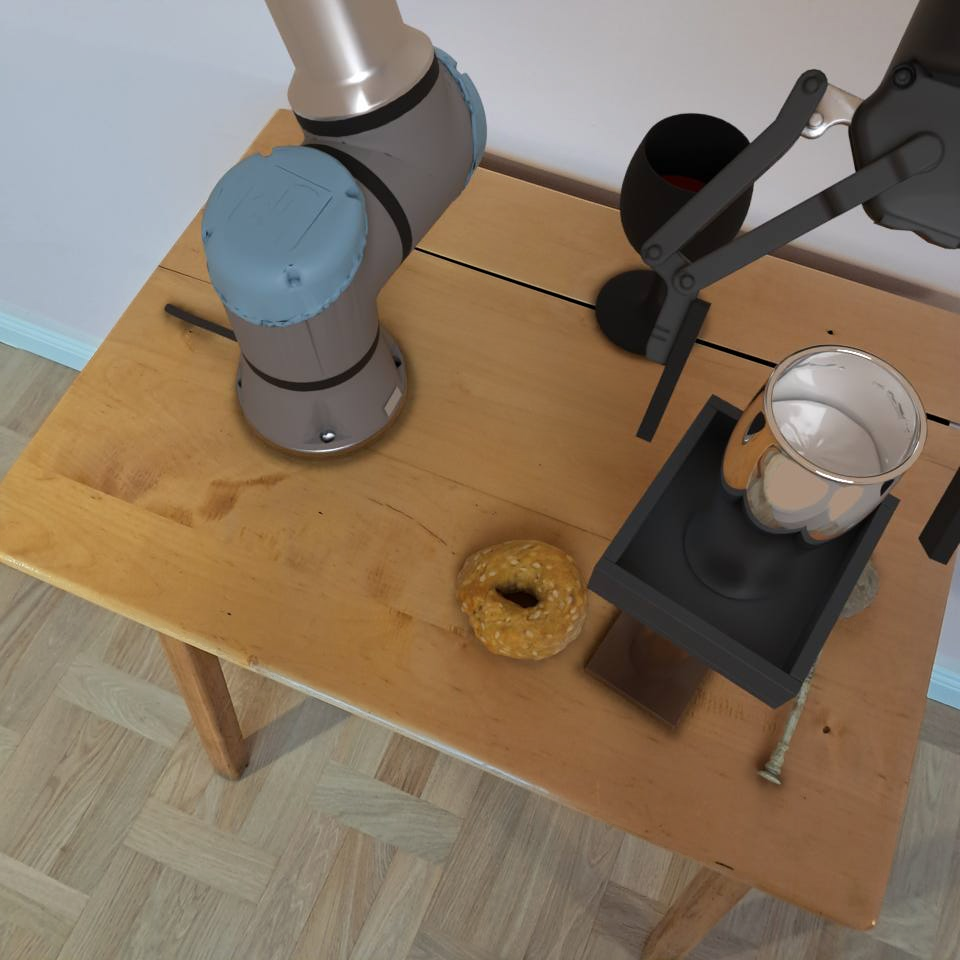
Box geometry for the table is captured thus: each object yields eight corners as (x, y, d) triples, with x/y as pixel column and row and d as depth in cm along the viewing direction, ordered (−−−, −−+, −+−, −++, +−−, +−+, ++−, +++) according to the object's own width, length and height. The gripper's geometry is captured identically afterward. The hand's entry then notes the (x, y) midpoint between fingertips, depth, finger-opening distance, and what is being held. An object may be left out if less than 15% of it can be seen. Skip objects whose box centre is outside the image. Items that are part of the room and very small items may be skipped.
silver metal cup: (798, 620, 47) (936, 503, 33) (669, 594, 47) (754, 469, 34) (803, 505, 50) (931, 355, 36) (681, 482, 50) (764, 325, 37)
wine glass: (698, 275, 87) (761, 110, 69) (702, 361, 82) (771, 207, 65) (595, 267, 87) (631, 100, 69) (593, 352, 83) (631, 197, 65)
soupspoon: (880, 562, 75) (806, 531, 76) (897, 545, 72) (819, 513, 73) (805, 802, 65) (721, 761, 66) (820, 794, 62) (732, 751, 64)
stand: (583, 671, 69) (636, 570, 49) (634, 593, 72) (704, 467, 52) (671, 730, 67) (765, 652, 47) (719, 647, 70) (828, 539, 50)
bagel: (495, 523, 75) (498, 499, 70) (607, 591, 72) (616, 571, 68) (429, 616, 71) (428, 597, 67) (544, 691, 68) (550, 676, 64)
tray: (585, 587, 48) (594, 566, 45) (698, 421, 53) (712, 393, 50) (774, 710, 45) (796, 696, 42) (875, 523, 50) (901, 499, 47)
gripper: (1330, 114, 34) (1034, 574, 41) (722, -70, 38) (552, 376, 45) (1479, 82, 27) (1092, 642, 34) (715, -138, 31) (517, 401, 39)
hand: (784, 491), depth 40 cm, fingers open, 13 cm apart
